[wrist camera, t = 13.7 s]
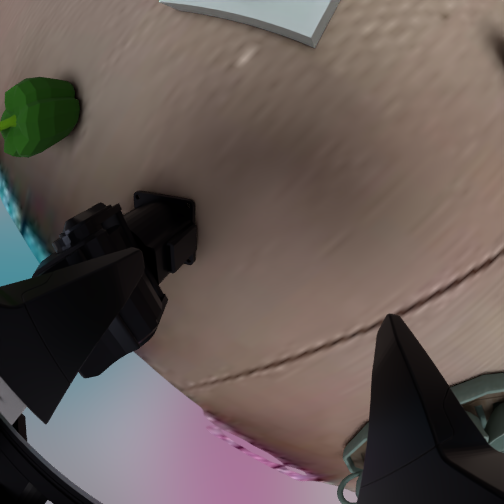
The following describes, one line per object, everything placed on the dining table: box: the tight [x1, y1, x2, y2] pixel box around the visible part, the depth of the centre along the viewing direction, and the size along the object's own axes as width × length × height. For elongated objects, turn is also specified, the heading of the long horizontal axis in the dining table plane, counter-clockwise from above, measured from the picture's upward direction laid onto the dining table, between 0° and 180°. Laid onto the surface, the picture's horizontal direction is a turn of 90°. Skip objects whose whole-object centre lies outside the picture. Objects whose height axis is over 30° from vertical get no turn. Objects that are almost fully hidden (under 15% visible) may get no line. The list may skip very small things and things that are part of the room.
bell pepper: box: [0, 77, 80, 157], centre depth 18 cm, size 8×8×10 cm
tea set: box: [337, 373, 504, 504], centre depth 24 cm, size 40×40×16 cm
